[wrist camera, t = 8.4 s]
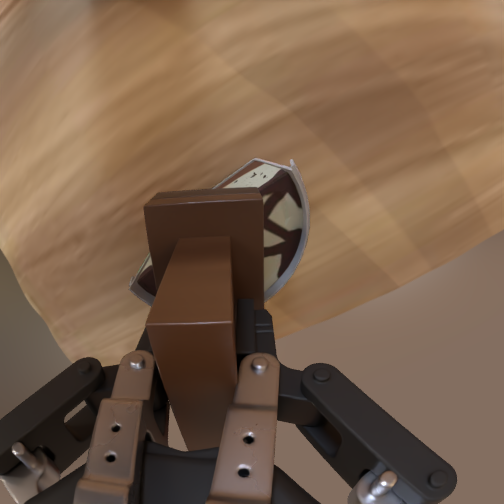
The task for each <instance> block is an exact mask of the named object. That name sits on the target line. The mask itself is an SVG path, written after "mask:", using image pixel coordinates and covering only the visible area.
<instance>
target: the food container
mask: <svg viewBox="0 0 504 504" xmlns="http://www.w3.org/2000/svg"><path fill="white" fill-rule="evenodd" d="M290 163H291V166H290V167H287V166H284V165H281V164H277V163H274V162H270V161H266V160H263V159H259V158H254V159H253V160H251V161H250V162H249V163H247V164H246V165H244V166H243V167H241V168H240V169H239V170H237V171H236V172H234V173H233V174H232V175H230V176H229V177H227V178H226V179H225V180H223V181H222V182H221V183H219V184H218V185H217V186H215V187H214V188H212V189H218V188H239V187H257V188H258V190H259V192H260V194H261V196H262V198H263V205H264V303H265V302H266V301H267V300H269V299H270V298H272V297H273V296H274V295H275V294H276V293H277V292H278V291H279V290H280V289H281V288H282V287H283V286H284V285H285V284H286V283H287V282H288V280H289V279H290V278H291V276H292V275H293V274H294V272H295V270H296V268H297V266H298V264H299V262H300V260H301V258H302V256H303V253H304V250H305V247H306V244H307V240H308V235H309V229H310V209H309V203H308V196H307V192H306V189H305V186H304V183H303V180H302V177H301V174H300V172H299V170H298V168H297V166H296V164H295V163H294V161H293V159H291V160H290ZM129 287H130V288H129V290H130V291H131V292H132V293H133V294H134V295H136V296H137V297H138V298H139V299H141V300H142V301H144V302H145V303H147V304H148V305H150V306H151V307H152V305H153V302H154V299H155V297H156V294H157V289H156V283H155V278H154V273H153V267H152V261H151V255H150V252H149V254H148V256H147V258H146V259H145V261H144V263H143V264H142V266H141V268H140V269H139V271H138V273H137V275H136V276H135V277H134V276H132V277H131V280H130V283H129Z"/></svg>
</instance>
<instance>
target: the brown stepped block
mask: <svg viewBox="0 0 504 504" xmlns="http://www.w3.org/2000/svg"><path fill="white" fill-rule="evenodd" d="M144 215H145V222H146V230H147V236H148V243H149V249H150V255H151V261H152V267H153V273H154V278H155V283H156V289H157V294H156V297H155V299H154V302H153V305H152V307H151V310H150V313H149V315H148V318H147V321H146V324H145V326H146V329H147V333H148V337H149V340H150V344H151V347H152V351H153V354H154V357H155V361H156V364H157V367H158V370H159V373H160V376H161V379H162V382H163V385H164V388H165V391H166V394H167V397H168V400H169V403H170V405H171V408H172V411H173V413H174V416H175V418H176V421H177V423H178V426H179V429H180V431H181V434H182V436H183V438H184V441H185V443H186V446H187V448H188V451H194V450H201V449H207V448H213V447H220V443H221V438H222V434H223V429H224V424H225V420H226V415H227V410H228V407H229V405H230V404H231V405H232V403H233V398H234V393H235V388H236V384H238V368H237V355H236V317H237V299H254V310H263V309H264V205H263V198H262V196H261V194H260V192H259V190H258V188H257V187H239V188H218V189H201V190H186V191H173V192H161V193H157V194H156V195H155V196H154V197H153V198H152V199H151V200H150V201H149V202H148V203H147V204H145V205H144Z"/></svg>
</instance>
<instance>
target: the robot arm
mask: <svg viewBox="0 0 504 504" xmlns="http://www.w3.org/2000/svg"><path fill="white" fill-rule="evenodd" d="M236 355H237V368H238V384H236V388H235V393H234V398H233V403H232V405H231V404H230V405H229V407H228V410H227V415H226V420H225V424H224V429H223V434H222V438H221V443H220V447H213V448H207V449H201V450H194V451H186V452H184V451H179V450H176V449H173V448H170V447H169V446H168V425H169V409H170V404H169V401H168V397H167V394H166V391H165V388H164V385H163V382H162V379H161V376H160V373H159V370H158V367H157V364H156V361H155V357H154V354H153V351H152V347H151V344H150V340H149V337H148V333H147V329H146V327H145V329H144V332H143V334H142V336H141V339H140V341H139V343H138V345H137V348H136V350H135V351H132V352H130V353H128V354H126V355H125V356H124V357H123V358H122V360H121V362H120V364H119V365H113V366H106V367H102V366H101V363H100V362H99V361H98V360H97V359H95V358H91V357H86V358H82V359H80V360H78V361H76V362H75V363H73V364H72V365H71V366H70V367H68V368H67V369H65V370H64V371H63V372H61V373H60V374H59V375H58V376H56V377H55V378H54V379H52V380H51V381H50V382H48V383H47V384H46V385H45V386H43V387H42V388H40V389H39V390H38V391H37V392H35V393H34V394H33V395H31V396H30V397H29V398H28V399H26V400H25V401H24V402H22V403H21V404H20V405H18V406H17V407H16V408H15V409H13V410H12V411H11V412H10V413H8V414H7V415H6V416H4V417H3V418H2V419H1V420H0V480H1V481H2V483H3V484H4V486H5V487H6V489H7V490H8V492H9V493H10V495H11V496H12V498H13V499H14V500H15V502H16V503H17V504H321V503H319V502H318V501H317V500H316V499H314V498H313V497H312V496H311V495H310V494H309V493H307V492H306V491H305V490H304V489H303V488H301V487H300V486H299V485H298V484H297V483H296V482H295V481H294V480H293V479H291V478H290V477H289V476H288V475H287V474H286V473H285V472H284V471H282V470H281V469H280V468H279V467H277V466H276V465H274V455H275V441H276V426H277V420H278V421H283V422H288V423H293V424H296V427H297V428H298V429H299V430H300V432H301V433H302V434H303V435H304V436H305V437H306V439H307V440H308V441H309V442H310V443H311V444H312V445H313V447H314V448H315V449H316V450H317V451H318V452H319V453H320V454H321V456H322V457H323V458H324V459H325V460H326V461H327V462H328V463H329V464H330V465H331V467H332V468H333V469H334V470H335V471H336V472H337V473H338V474H339V475H340V476H341V477H342V478H343V479H344V480H345V481H346V482H347V484H349V486H350V487H351V488H352V491H351V492H350V494H349V496H348V504H438V503H440V502H441V501H442V500H444V499H445V498H446V497H448V496H449V495H450V494H451V493H452V492H453V491H454V489H455V487H456V484H457V475H456V472H455V470H454V469H453V467H452V466H451V465H450V464H448V463H447V462H446V461H445V460H443V459H442V458H441V457H440V456H438V455H437V454H436V453H435V452H434V451H432V450H431V449H430V448H429V447H427V446H426V445H425V444H424V443H423V442H421V441H420V440H419V439H418V438H416V437H415V436H414V435H413V434H412V433H411V432H409V431H408V430H407V429H405V427H403V426H402V425H401V424H400V423H399V422H397V421H396V420H395V419H394V418H393V417H392V416H390V415H389V414H388V413H387V412H385V410H383V409H382V408H381V407H380V406H379V405H378V404H376V403H375V402H374V401H373V400H372V399H371V398H369V397H368V396H367V395H366V394H365V393H364V392H362V390H360V389H359V388H358V387H357V386H356V385H355V384H354V383H352V382H351V381H350V380H349V379H348V378H347V377H346V376H344V375H343V374H342V373H341V372H340V371H339V370H338V369H337V368H335V367H333V366H332V365H329V364H324V363H316V364H312V365H310V366H308V367H307V368H305V369H304V370H303V371H300V370H294V369H290V368H287V367H286V366H284V365H283V364H281V363H280V362H279V360H278V359H277V355H276V348H275V339H274V332H273V323H272V316H271V315H270V314H269V312H268V311H267V310H266V309H263V310H254V299H237V317H236ZM83 400H85V402H86V404H87V405H86V406H85V407H84V408H82V409H81V410H80V411H79V412H78V413H77V414H76V415H74V416H73V417H72V418H71V419H70V420H68V421H67V422H66V423H64V418H65V416H66V415H67V414H68V413H69V412H70V411H72V410H73V409H74V408H75V407H76V406H77V405H79V404H80V403H81V402H82V401H83ZM88 448H89V452H88V457H87V462H86V463H85V464H84V465H82V466H81V467H79V468H78V469H76V470H75V471H73V472H72V473H70V474H69V475H67V476H66V477H64V478H62V479H61V480H60V474H61V473H62V472H63V471H64V470H66V469H67V468H68V467H69V466H70V465H71V464H72V463H73V462H74V461H75V460H77V458H79V457H80V456H81V455H82V454H83V453H84V452H85V451H86V450H87V449H88Z"/></svg>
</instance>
